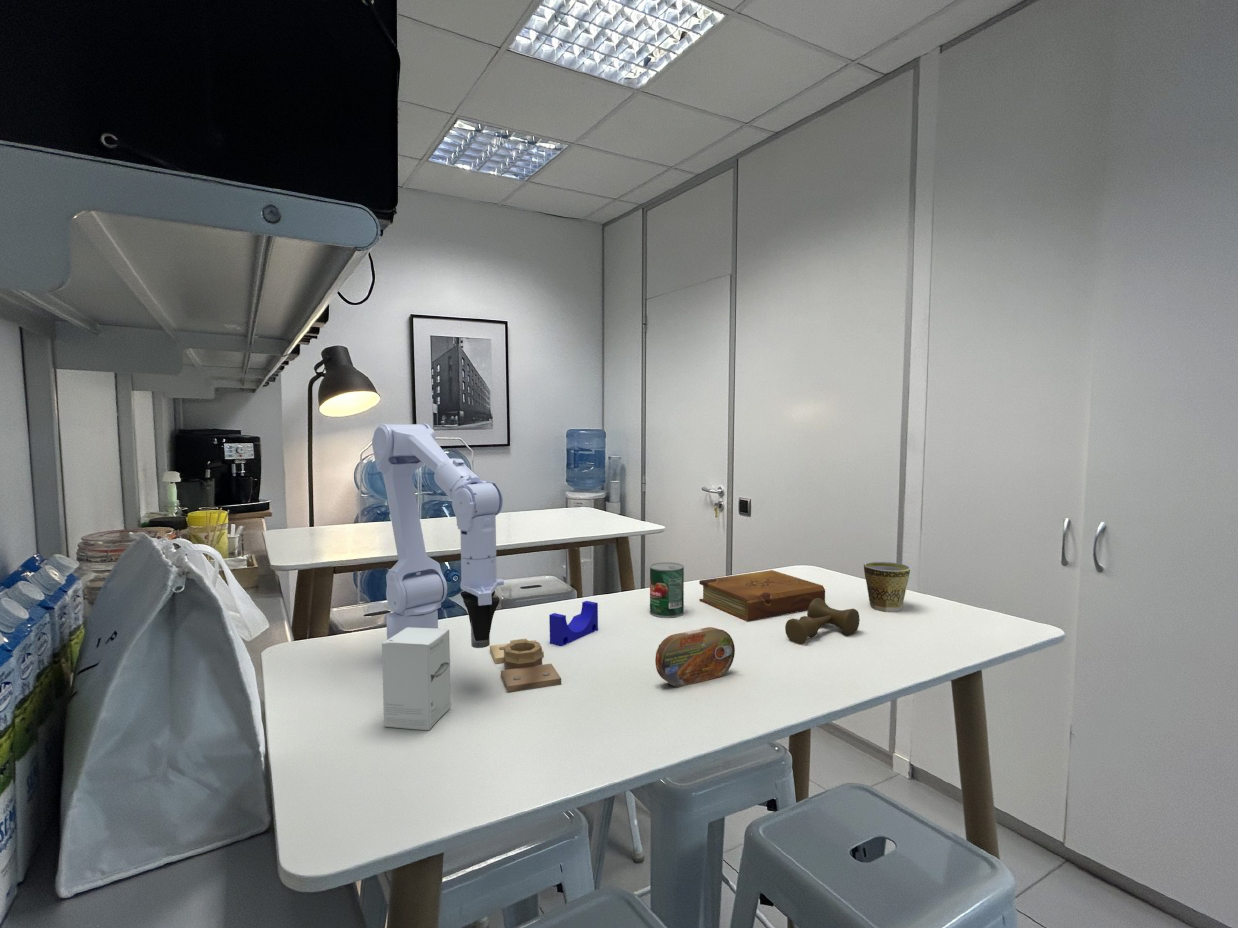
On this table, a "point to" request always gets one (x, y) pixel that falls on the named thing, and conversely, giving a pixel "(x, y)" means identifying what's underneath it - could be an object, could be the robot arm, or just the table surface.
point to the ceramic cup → (886, 585)
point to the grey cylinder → (478, 643)
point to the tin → (694, 656)
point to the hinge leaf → (517, 651)
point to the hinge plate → (529, 675)
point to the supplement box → (416, 678)
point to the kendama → (821, 621)
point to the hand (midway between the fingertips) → (480, 636)
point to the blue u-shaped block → (573, 625)
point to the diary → (760, 594)
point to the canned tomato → (666, 589)
